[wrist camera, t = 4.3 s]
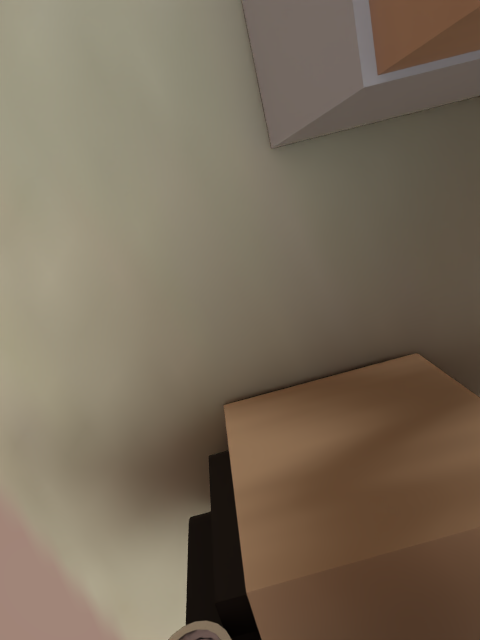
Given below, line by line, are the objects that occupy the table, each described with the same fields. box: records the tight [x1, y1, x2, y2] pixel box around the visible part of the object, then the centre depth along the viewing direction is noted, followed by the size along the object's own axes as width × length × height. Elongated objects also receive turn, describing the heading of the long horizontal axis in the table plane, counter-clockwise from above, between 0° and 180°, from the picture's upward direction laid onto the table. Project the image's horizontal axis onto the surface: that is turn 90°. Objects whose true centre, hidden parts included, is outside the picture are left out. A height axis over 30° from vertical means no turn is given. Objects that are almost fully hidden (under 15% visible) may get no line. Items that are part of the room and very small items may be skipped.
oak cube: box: [224, 353, 480, 640], centre depth 8 cm, size 5×5×5 cm
